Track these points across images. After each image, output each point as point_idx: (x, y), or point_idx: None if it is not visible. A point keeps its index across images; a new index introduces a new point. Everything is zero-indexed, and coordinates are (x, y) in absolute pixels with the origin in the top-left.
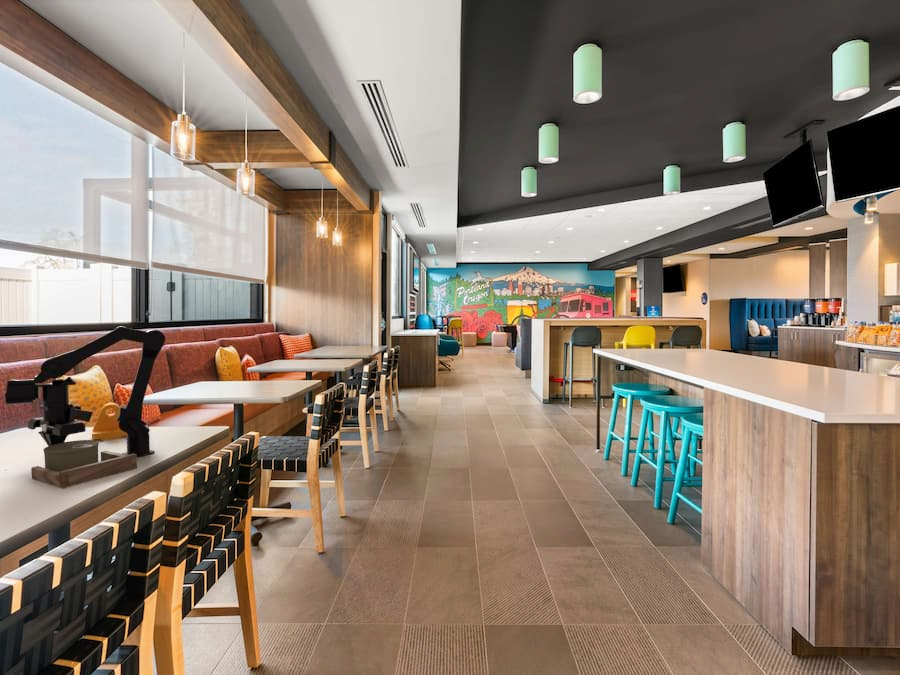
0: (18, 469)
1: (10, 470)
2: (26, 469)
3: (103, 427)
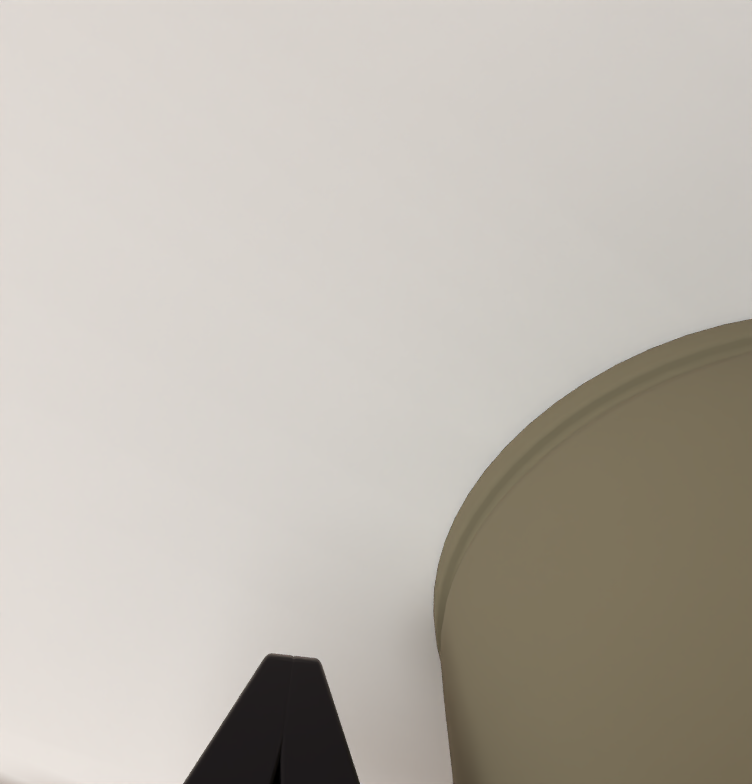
0: (37, 729)
1: (4, 763)
2: (124, 709)
3: None
